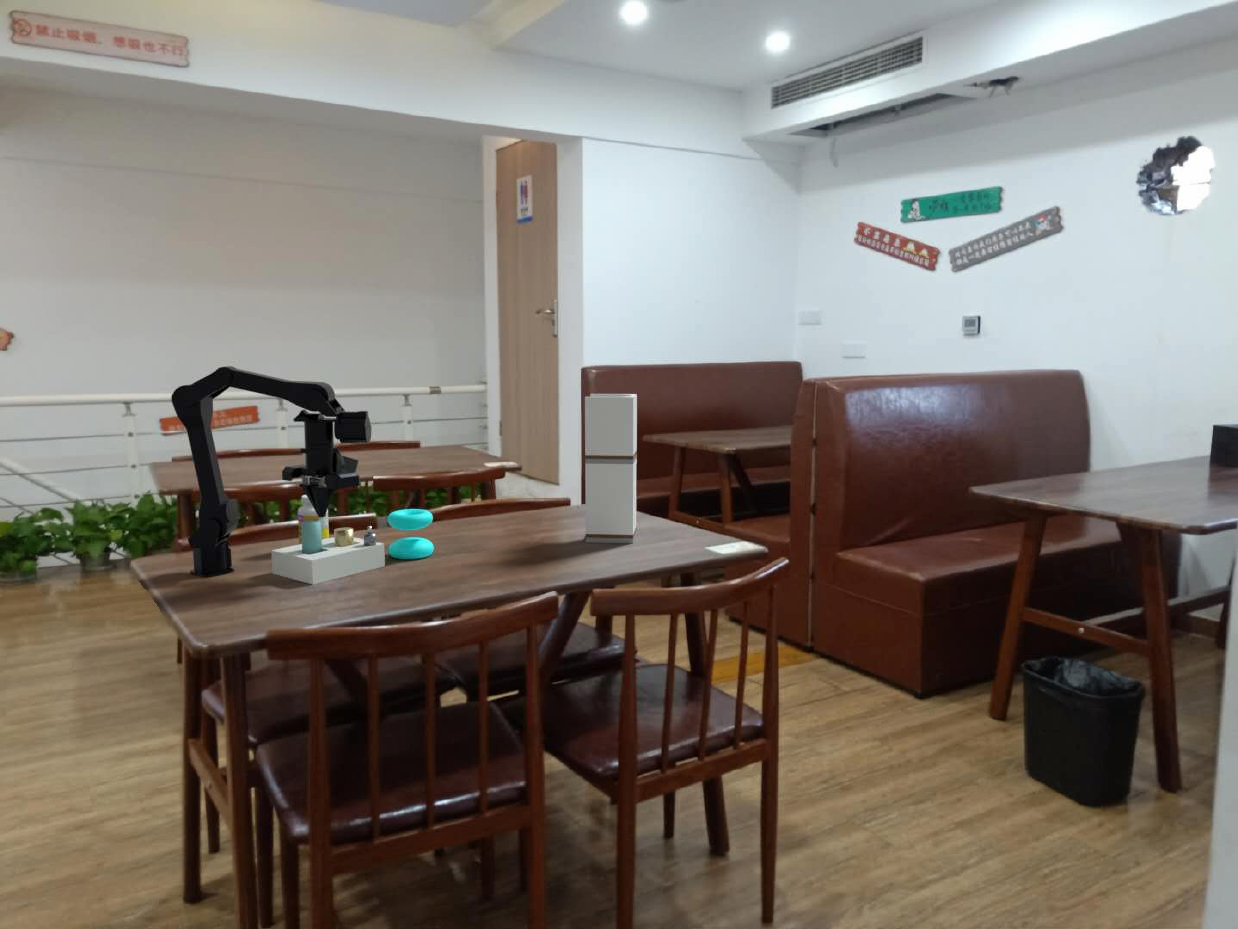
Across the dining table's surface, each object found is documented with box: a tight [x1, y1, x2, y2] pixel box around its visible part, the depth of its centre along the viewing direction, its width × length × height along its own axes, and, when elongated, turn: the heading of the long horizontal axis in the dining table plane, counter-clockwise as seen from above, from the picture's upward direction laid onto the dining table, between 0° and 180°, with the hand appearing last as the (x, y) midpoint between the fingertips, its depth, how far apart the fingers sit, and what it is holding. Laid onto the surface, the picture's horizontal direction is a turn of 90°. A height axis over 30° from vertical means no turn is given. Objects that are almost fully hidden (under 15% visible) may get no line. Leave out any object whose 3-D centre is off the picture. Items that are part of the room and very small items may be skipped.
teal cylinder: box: [301, 520, 322, 555], centre depth 189 cm, size 4×4×7 cm
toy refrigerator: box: [584, 393, 638, 544], centre depth 221 cm, size 11×11×35 cm
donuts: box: [387, 508, 435, 560], centre depth 206 cm, size 10×10×10 cm
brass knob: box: [333, 526, 355, 547], centre depth 196 cm, size 4×4×7 cm
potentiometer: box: [363, 525, 377, 546], centre depth 194 cm, size 3×3×4 cm
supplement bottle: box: [297, 494, 330, 545], centre depth 210 cm, size 7×7×13 cm
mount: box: [271, 536, 386, 586], centre depth 193 cm, size 18×14×5 cm
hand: (321, 516), depth 191 cm, fingers closed
